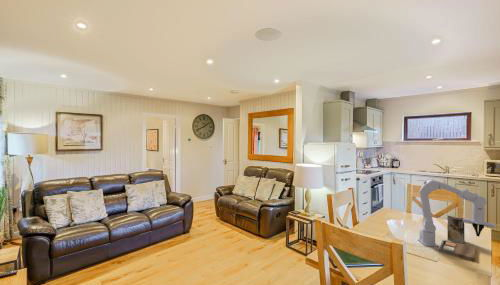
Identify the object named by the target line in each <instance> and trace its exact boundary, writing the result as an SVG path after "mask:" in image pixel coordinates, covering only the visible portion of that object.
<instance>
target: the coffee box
mask: <svg viewBox="0 0 500 285" xmlns="http://www.w3.org/2000/svg"><path fill="white" fill-rule="evenodd" d="M463 218H464V217H457V216H453V215H448V216H447V241H450V242H454V243H461V244H465V222H463Z"/></svg>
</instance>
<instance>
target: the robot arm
mask: <svg viewBox="0 0 500 285" xmlns="http://www.w3.org/2000/svg"><path fill="white" fill-rule="evenodd" d="M437 190H446V191H448V192H451V193H454V194H456V195H457V196H458V198H461V199H464V200H465V201H468V202H471V203H472V205H471V206H472V208H471V209H472V210H471V211H472V213H471V219H470V218H464V217H462V218H463V222H464V223H467V224H472V225H471V226H472V228H473V229H474V231H475V235H476V237H480V236H481V233H482V231H483V229H484V228H485V227H490V228H493V229H494V228H496V224H495V223H492V222H487V221H486V220H485V219H486V217H485V216H486V212H485V210H486V208H485V206H486V205H487V203H488V201H487V200H486V199H485V197H483V196H481V195H479V194H478V193H476V192H475V193H473V192H472V191H469V189H466V188H464V189H463V188H462V189H460V188H457V187H455V186H453V185H450V184H448V183H445V182H442V181H440V180H435V179H433V178H428V179H426V180H425V181H423V183H422V185H421V187H420V189H419V198H420V204H421V210H422V211H421V212H422V221H421V224H422V226H423V227H422V228H421V229H420V230H419V238H418V241H419V242H420V243H421V244H422V245H423V246H426V247H439V245H438V244H436V230H437V227H436V225H435V224H434V220H433V217H432V212H431V211H432V210H431V205H430V204H431V203H430V198H429V194H431V193H432V192H434V191H437Z"/></svg>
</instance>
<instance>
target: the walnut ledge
mask: <svg viewBox="0 0 500 285" xmlns="http://www.w3.org/2000/svg"><path fill="white" fill-rule="evenodd" d="M456 243H457V244H456V248H455V251H454V255H453V256H454V257H456V258H460V259H462V260H463V259H464V260H467V261H471V262H475V258H476V257H475V256H476V255H475V254H476V246H473V245H469V244H465V243H459V242H456Z"/></svg>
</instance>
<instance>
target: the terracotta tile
mask: <svg viewBox="0 0 500 285" xmlns="http://www.w3.org/2000/svg"><path fill="white" fill-rule="evenodd" d="M451 242H452V241H450V242H446V244H445V246H449V247H453V248H454V249H455V248H456V244H455V243H456V242H454V243H451Z"/></svg>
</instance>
